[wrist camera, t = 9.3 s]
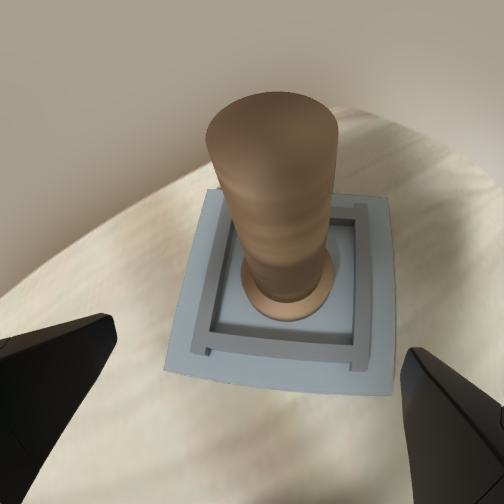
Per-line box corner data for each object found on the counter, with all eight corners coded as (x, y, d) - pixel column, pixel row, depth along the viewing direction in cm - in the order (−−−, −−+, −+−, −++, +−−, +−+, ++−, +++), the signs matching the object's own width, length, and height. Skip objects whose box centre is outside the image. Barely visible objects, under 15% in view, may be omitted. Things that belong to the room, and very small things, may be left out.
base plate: (386, 395, 17) (407, 393, 14) (170, 372, 20) (143, 363, 16) (384, 206, 24) (395, 173, 20) (210, 197, 27) (198, 165, 23)
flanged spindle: (349, 280, 20) (396, 130, 9) (284, 340, 19) (261, 238, 8) (290, 226, 23) (276, 67, 11) (227, 277, 22) (153, 136, 10)
